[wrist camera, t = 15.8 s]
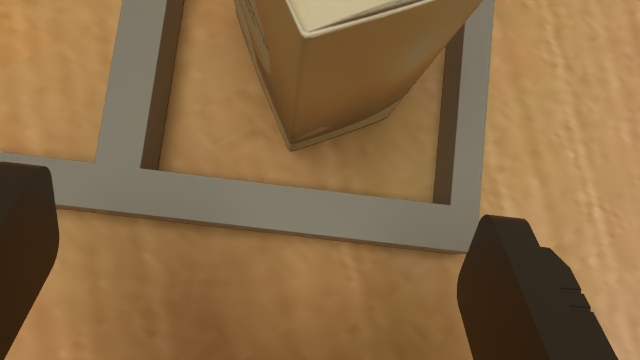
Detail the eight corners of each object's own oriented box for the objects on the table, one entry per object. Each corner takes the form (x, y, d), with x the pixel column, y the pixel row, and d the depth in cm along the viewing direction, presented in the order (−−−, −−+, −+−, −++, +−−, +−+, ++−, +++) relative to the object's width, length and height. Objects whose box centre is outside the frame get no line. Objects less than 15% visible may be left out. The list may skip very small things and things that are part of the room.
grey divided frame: (-213, 177, 21) (-287, 164, 18) (-120, -193, 23) (-174, -254, 21) (454, 254, 22) (478, 252, 20) (483, -107, 24) (508, -154, 22)
